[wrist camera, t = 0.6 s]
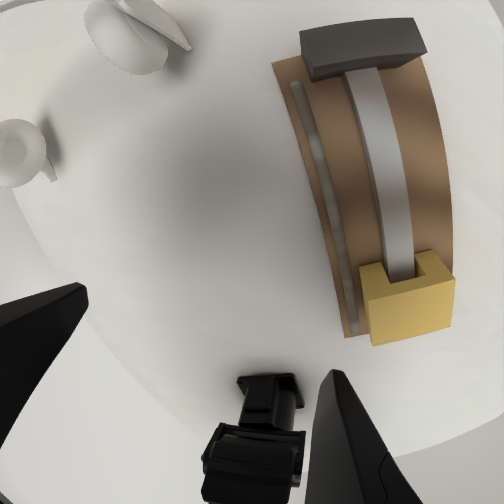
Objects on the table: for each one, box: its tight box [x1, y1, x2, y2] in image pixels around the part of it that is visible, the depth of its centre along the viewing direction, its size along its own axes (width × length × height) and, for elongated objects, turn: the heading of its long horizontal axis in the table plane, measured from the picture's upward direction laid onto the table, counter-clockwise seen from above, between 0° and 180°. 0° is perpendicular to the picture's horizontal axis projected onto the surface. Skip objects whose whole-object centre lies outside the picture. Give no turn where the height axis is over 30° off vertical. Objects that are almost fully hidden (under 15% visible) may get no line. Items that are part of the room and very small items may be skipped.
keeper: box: [359, 250, 455, 346], centre depth 17 cm, size 4×6×4 cm, turn 108°
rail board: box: [271, 18, 453, 338], centre depth 15 cm, size 22×10×6 cm, turn 18°
